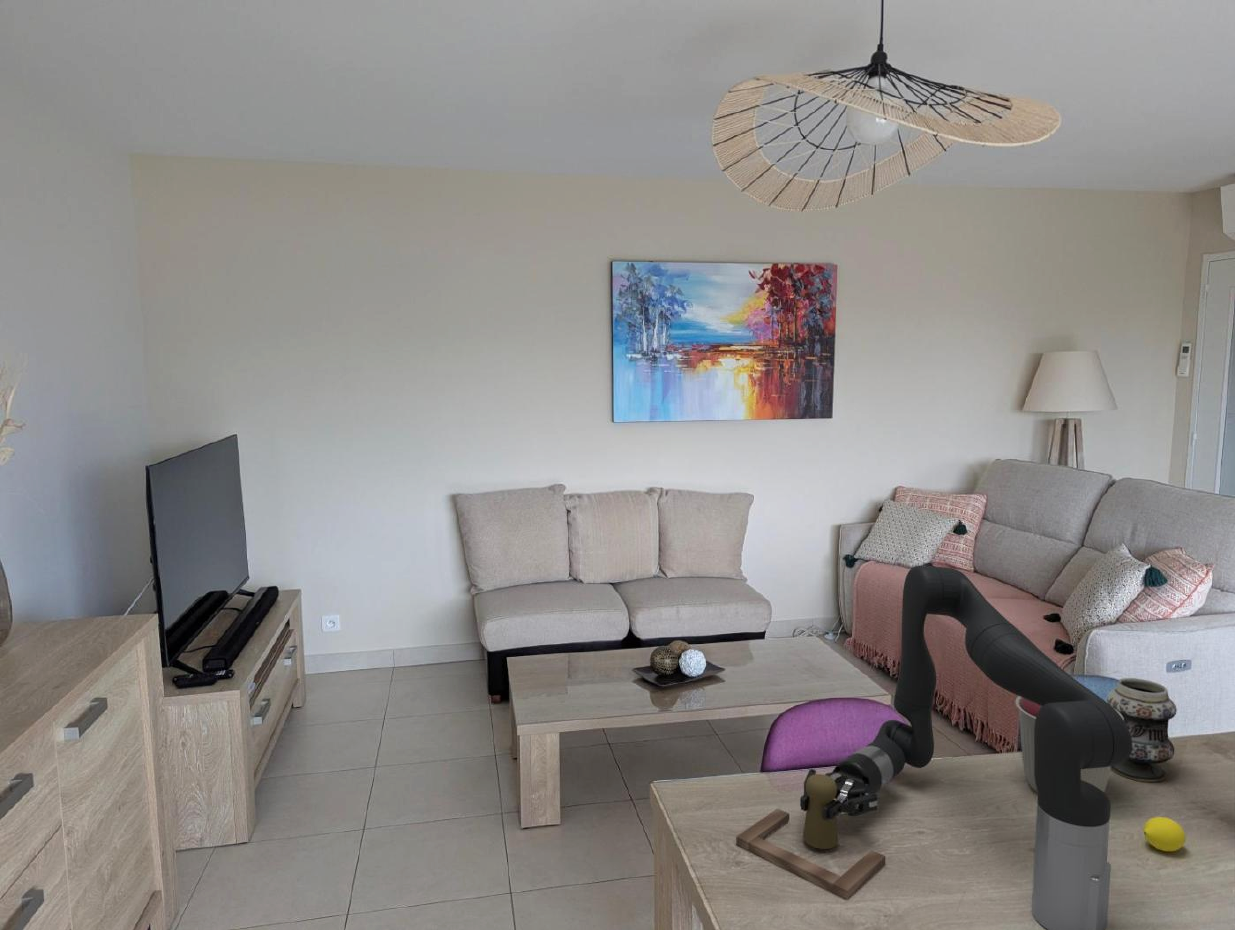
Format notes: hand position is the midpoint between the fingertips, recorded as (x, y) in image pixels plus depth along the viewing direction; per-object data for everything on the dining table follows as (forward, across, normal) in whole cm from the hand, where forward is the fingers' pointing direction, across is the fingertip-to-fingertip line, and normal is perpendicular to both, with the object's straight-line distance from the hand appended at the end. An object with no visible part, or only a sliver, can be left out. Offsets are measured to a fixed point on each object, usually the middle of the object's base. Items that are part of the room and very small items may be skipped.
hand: (813, 809), depth 136 cm
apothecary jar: (-70, +32, +8) cm, 77 cm away
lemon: (-42, +42, +8) cm, 60 cm away
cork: (-3, 0, +7) cm, 7 cm away
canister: (-51, +24, +8) cm, 57 cm away
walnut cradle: (+1, 0, +7) cm, 7 cm away
